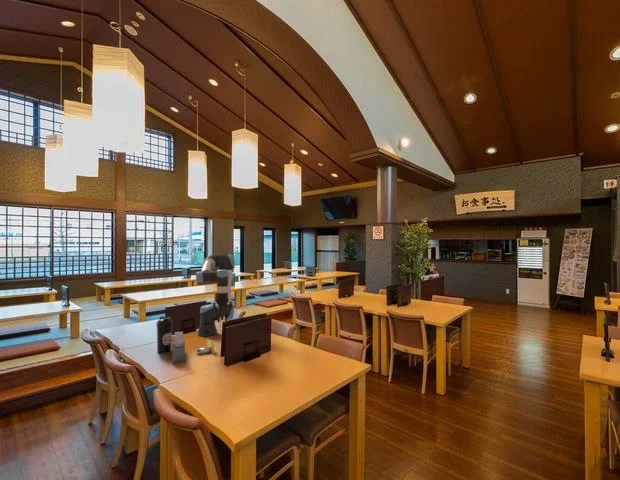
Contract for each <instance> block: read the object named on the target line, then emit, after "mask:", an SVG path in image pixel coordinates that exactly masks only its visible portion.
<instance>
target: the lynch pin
mask: <svg viewBox="0 0 620 480" xmlns="http://www.w3.org/2000/svg"><path fill="white" fill-rule="evenodd" d="M209 353H210V354H211V355H214V354H215V344H214V341H210V346H208V347H200V348H196V355H204V354H209Z"/></svg>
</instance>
